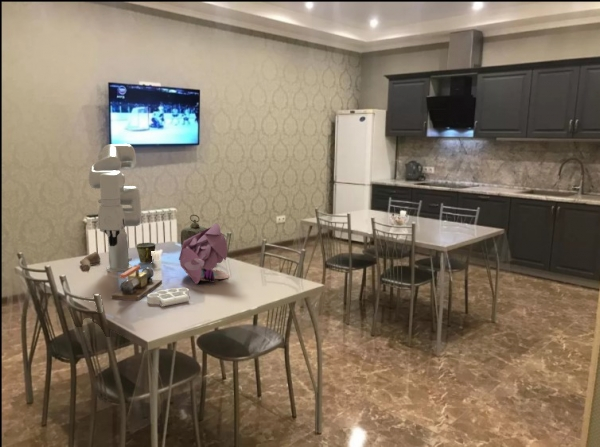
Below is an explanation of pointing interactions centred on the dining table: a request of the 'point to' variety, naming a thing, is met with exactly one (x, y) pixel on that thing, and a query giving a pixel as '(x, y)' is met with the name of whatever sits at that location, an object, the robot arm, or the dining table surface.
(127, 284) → the water pipe
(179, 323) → the dining table surface
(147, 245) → the ceramic cup
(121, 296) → the valve board
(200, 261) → the flower arrangement
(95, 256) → the pipe
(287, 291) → the dining table surface
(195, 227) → the tabletop clock
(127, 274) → the lever
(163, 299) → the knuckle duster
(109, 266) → the robot arm
